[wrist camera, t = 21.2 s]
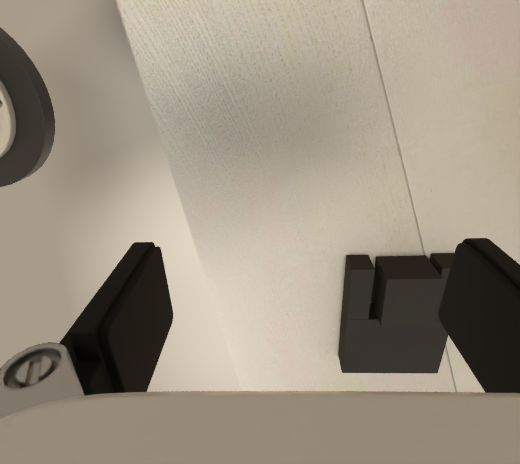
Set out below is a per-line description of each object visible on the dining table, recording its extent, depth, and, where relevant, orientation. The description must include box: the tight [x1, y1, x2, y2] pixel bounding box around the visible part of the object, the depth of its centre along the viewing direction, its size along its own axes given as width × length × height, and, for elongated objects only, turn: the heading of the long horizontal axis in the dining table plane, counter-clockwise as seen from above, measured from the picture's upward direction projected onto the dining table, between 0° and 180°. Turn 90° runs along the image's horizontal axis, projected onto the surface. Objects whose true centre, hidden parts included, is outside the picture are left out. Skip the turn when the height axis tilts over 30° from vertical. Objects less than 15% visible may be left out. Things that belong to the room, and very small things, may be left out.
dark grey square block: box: [371, 256, 443, 326], centre depth 38 cm, size 6×6×4 cm
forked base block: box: [338, 254, 454, 373], centre depth 40 cm, size 12×16×3 cm
